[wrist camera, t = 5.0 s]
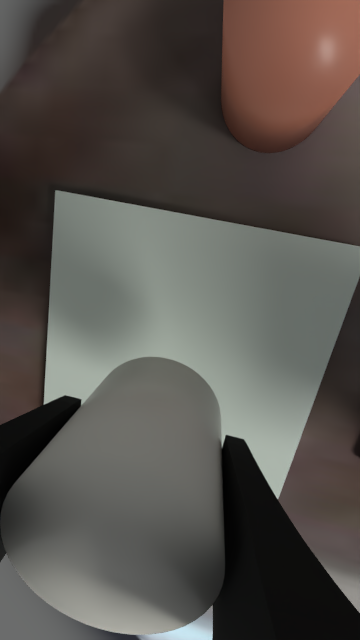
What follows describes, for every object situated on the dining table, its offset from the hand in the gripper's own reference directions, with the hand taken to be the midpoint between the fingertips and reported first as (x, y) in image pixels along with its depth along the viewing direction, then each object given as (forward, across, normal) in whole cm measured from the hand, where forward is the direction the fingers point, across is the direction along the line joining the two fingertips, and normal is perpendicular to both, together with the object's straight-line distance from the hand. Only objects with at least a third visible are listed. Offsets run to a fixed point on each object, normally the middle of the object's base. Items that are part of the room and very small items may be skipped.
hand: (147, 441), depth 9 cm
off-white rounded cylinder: (+1, 0, 0) cm, 1 cm away
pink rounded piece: (+8, -2, -14) cm, 16 cm away
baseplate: (+8, 0, 0) cm, 8 cm away
